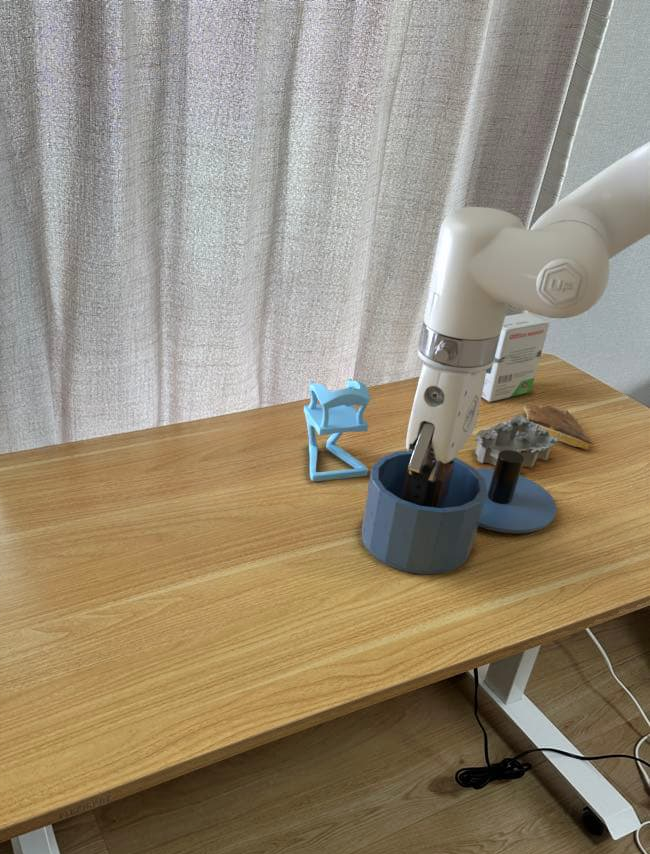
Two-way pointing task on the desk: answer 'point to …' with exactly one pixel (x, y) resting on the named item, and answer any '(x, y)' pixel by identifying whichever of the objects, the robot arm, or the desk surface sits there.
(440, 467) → the block
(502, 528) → the tin lid
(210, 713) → the desk surface
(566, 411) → the shard
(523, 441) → the egg carton
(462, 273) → the robot arm
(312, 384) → the chair
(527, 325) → the ink box
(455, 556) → the tin
